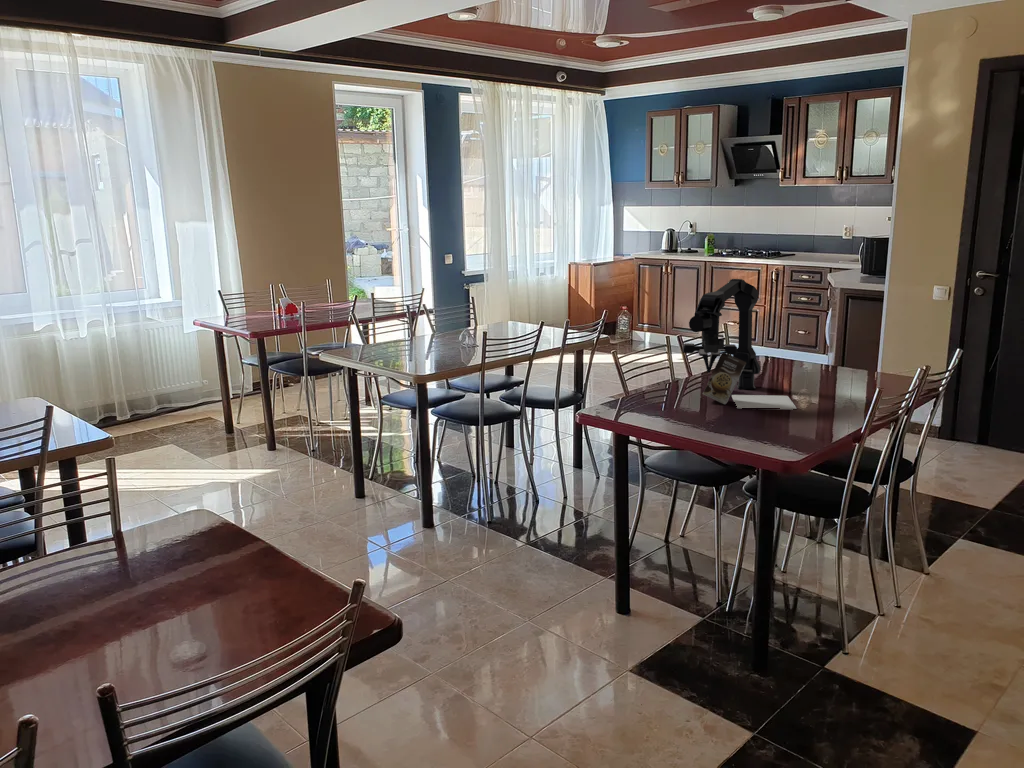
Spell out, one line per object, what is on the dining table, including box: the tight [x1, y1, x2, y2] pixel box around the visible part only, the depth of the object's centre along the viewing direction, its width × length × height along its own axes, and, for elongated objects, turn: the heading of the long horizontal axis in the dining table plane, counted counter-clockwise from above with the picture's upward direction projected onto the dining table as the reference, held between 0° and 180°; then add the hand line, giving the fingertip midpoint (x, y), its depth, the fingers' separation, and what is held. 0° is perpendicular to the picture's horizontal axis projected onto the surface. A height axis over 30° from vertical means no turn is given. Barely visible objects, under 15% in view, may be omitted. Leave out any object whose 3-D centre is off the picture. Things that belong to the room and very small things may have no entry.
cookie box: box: [702, 352, 746, 405], centre depth 284 cm, size 9×6×16 cm
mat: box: [731, 394, 797, 410], centre depth 284 cm, size 18×20×1 cm
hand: (708, 372), depth 285 cm, fingers closed
